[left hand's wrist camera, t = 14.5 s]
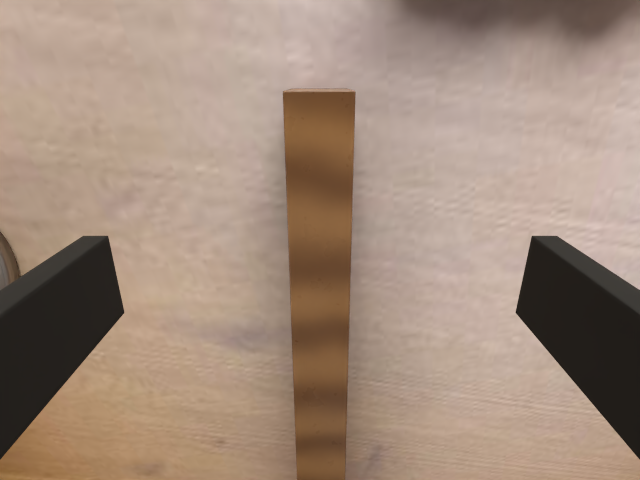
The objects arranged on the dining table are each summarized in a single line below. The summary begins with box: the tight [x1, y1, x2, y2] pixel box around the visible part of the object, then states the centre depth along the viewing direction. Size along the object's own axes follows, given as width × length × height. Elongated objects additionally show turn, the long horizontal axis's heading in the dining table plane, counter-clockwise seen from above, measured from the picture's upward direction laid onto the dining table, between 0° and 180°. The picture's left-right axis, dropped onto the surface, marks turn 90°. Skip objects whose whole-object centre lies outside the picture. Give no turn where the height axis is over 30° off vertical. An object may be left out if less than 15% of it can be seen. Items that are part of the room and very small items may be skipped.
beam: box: [283, 89, 355, 480], centre depth 39 cm, size 52×5×8 cm, turn 0°
